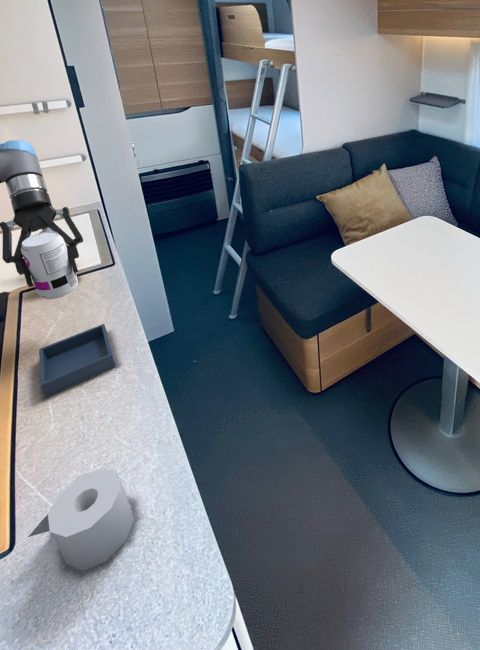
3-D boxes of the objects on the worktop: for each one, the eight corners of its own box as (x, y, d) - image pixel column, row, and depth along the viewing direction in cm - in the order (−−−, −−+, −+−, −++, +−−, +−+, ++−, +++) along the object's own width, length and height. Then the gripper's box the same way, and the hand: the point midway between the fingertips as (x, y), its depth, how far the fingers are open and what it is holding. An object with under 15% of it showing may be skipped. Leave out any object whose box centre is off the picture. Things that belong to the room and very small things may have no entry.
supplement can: (35, 304, 98) (13, 251, 92) (44, 285, 105) (24, 234, 99) (75, 295, 101) (56, 243, 95) (81, 277, 108) (64, 227, 102)
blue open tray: (44, 360, 99) (39, 348, 97) (107, 334, 106) (104, 323, 105) (46, 397, 89) (40, 385, 88) (116, 366, 97) (112, 354, 95)
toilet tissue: (45, 527, 66) (27, 494, 63) (137, 492, 71) (125, 459, 68) (26, 595, 59) (4, 561, 55) (130, 551, 63) (116, 517, 60)
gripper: (80, 191, 113) (105, 266, 108) (-21, 214, 101) (1, 299, 95) (77, 179, 107) (103, 257, 102) (-32, 202, 95) (-9, 292, 90)
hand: (53, 277), depth 99 cm, fingers closed on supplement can, 8 cm apart
